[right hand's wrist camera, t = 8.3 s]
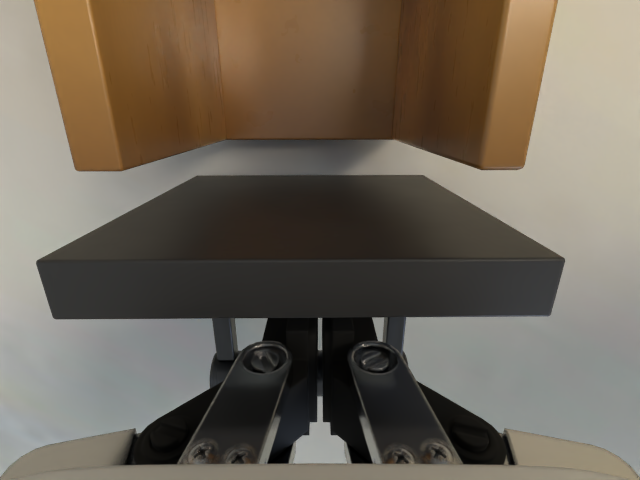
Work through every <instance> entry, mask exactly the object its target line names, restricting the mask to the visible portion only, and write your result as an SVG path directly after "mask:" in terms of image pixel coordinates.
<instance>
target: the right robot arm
mask: <svg viewBox="0 0 640 480" xmlns="http://www.w3.org/2000/svg"><path fill="white" fill-rule="evenodd" d="M317 365H318V318H268V320H267V324H266V328H265V332H264V336H263V340H262V341H261V342H256V343H254V344H251V345H249V346H247V347H246V348H245V349H243V350H242V351H241V352H240V354H239V355H238V357H237V358H236V360H235V362H234V364H233V365H232V367H231V369H230V371H229V372H228V374H227V376H226V378H225V380H224V381H222V382H221V383H219V384H217V385H215V386H214V387H212V388H210V389H209V390H207V391H205V392H203V393H202V394H200V395H198V396H196V397H195V398H193V399H191V400H190V401H188V402H186V403H184V404H183V405H181V406H179V407H177V408H176V409H174V410H172V411H171V412H169V413H167V414H165V415H164V416H162V417H160V418H158V419H157V420H155V421H154V422H153V423H151V424H150V425H148V426H147V427H146V428H145V430H144V431H143V432H142V433H138V434H137V433H136V429H135V428H134V429H129V430H124V431H119V432H113V433H108V434H103V435H98V436H92V437H87V438H82V439H76V440H71V441H66V442H61V443H55V444H50V445H46V446H43V447H40V448H37V449H34V450H33V451H31V452H29V453H27V454H25V455H23V456H22V457H20V458H19V459H18V460H17V461H15V462H14V463H13V464H12V465H10V466H9V467H8V469H7V470H6V471H5V472H4V473H3V475H2V476H1V477H0V480H640V477H639V476H638V475H637V473H636V472H635V471H634V470H633V469H632V467H631V466H630V465H628V464H627V463H626V462H625V461H623V460H622V459H621V458H620V457H618V456H617V455H615V454H613V453H611V452H609V451H607V450H605V449H603V448H600V447H597V446H594V445H590V444H585V443H579V442H574V441H569V440H564V439H558V438H553V437H548V436H542V435H537V434H532V433H527V432H521V431H516V430H511V429H506V428H505V429H504V433H503V434H502V433H498V432H497V431H496V430H495V428H494V427H493V426H492V425H490V424H489V423H487V422H486V421H485V420H483V419H482V418H480V417H478V416H476V415H475V414H473V413H471V412H469V411H468V410H466V409H464V408H463V407H461V406H459V405H457V404H456V403H454V402H452V401H450V400H449V399H447V398H445V397H444V396H442V395H440V394H438V393H437V392H435V391H433V390H431V389H430V388H428V387H426V386H425V385H423V384H421V383H419V382H418V381H416V380H415V378H414V376H413V374H412V372H411V371H410V369H409V367H408V365H407V364H406V362H405V360H404V358H403V357H402V355H401V354H400V352H399V351H398V350H397V349H395V348H394V347H393V346H391V345H389V344H386V343H384V342H379V341H378V340H377V336H376V332H375V328H374V324H373V320H372V317H343V318H322V365H323V422H330V426H331V435H338V436H339V437H340V438H341V439H343V440H344V451H345V457H346V461H347V464H293V461H294V457H295V451H296V440H297V439H299V438H300V437H301V436H302V435H309V426H310V422H317Z"/></svg>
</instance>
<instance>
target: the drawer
mask: <svg viewBox="0 0 640 480" xmlns="http://www.w3.org/2000/svg"><path fill="white" fill-rule="evenodd" d="M557 2H558V0H34V3H35V7H36V11H37V15H38V19H39V23H40V28H41V32H42V36H43V40H44V44H45V48H46V52H47V56H48V60H49V64H50V69H51V73H52V77H53V81H54V85H55V89H56V93H57V97H58V101H59V105H60V109H61V114H62V118H63V122H64V126H65V130H66V134H67V138H68V142H69V146H70V150H71V155H72V159H73V163H74V167H75V169H76V170H77V171H124V170H127V169H130V168H134V167H137V166H140V165H144V164H147V163H150V162H154V161H157V160H160V159H164V158H167V157H170V156H174V155H177V154H180V153H184V152H187V151H190V150H193V149H197V148H200V147H203V146H207V145H210V144H213V143H217V142H220V141H223V140H397V141H399V142H402V143H405V144H408V145H411V146H414V147H417V148H420V149H422V150H425V151H428V152H431V153H434V154H437V155H440V156H443V157H445V158H448V159H451V160H454V161H457V162H460V163H463V164H466V165H468V166H471V167H474V168H477V169H480V170H518V169H521V168H523V167H524V165H525V160H526V155H527V150H528V145H529V140H530V135H531V130H532V125H533V120H534V116H535V111H536V106H537V101H538V96H539V91H540V86H541V81H542V76H543V71H544V66H545V61H546V56H547V51H548V46H549V41H550V36H551V32H552V27H553V22H554V17H555V12H556V7H557ZM564 263H565V259H564V258H563V257H561V256H560V255H558V254H556V253H555V252H553V251H551V250H550V249H548V248H546V247H544V246H543V245H541V244H539V243H538V242H536V241H534V240H533V239H531V238H529V237H527V236H526V235H524V234H522V233H521V232H519V231H517V230H515V229H514V228H512V227H510V226H509V225H507V224H505V223H504V222H502V221H500V220H498V219H497V218H495V217H493V216H492V215H490V214H488V213H486V212H485V211H483V210H481V209H480V208H478V207H476V206H475V205H473V204H471V203H469V202H468V201H466V200H464V199H463V198H461V197H459V196H458V195H456V194H454V193H452V192H451V191H449V190H447V189H446V188H444V187H442V186H440V185H439V184H437V183H435V182H434V181H432V180H430V179H429V178H427V177H425V176H423V175H287V176H195V177H194V178H192V179H190V180H188V181H186V182H184V183H182V184H180V185H178V186H177V187H175V188H173V189H171V190H169V191H167V192H165V193H163V194H162V195H160V196H158V197H156V198H154V199H152V200H150V201H148V202H146V203H145V204H143V205H141V206H139V207H137V208H135V209H133V210H131V211H129V212H128V213H126V214H124V215H122V216H120V217H118V218H116V219H114V220H112V221H111V222H109V223H107V224H105V225H103V226H101V227H99V228H97V229H95V230H94V231H92V232H90V233H88V234H86V235H84V236H82V237H80V238H78V239H77V240H75V241H73V242H71V243H69V244H67V245H65V246H63V247H62V248H60V249H58V250H56V251H54V252H52V253H50V254H48V255H46V256H45V257H43V258H41V259H39V260H37V261H36V265H37V268H38V271H39V274H40V277H41V281H42V284H43V287H44V290H45V293H46V297H47V300H48V303H49V306H50V309H51V313H52V316H53V318H54V319H180V318H212V321H213V329H214V336H215V344H216V354H215V356H214V358H213V361H212V365H211V370H210V388H212V387H214V386H215V385H217V384H219V383H221V382H222V381H224V380H225V378H226V376H227V374H228V372H229V371H230V369H231V367H232V365H233V364H234V362H235V360H236V358H237V357H238V355H239V354H240V352H241V351H238V347H237V337H236V327H235V318H343V317H384V330H383V342H384V343H386V344H389V345H391V346H393V347H394V348H395V349H397V350H398V351H399V352H400V354H401V355H402V357H403V358H404V360H405V362H406V364H407V365H408V362H407V358H406V355H405V353H404V351H403V342H404V332H405V322H406V317H507V316H550V315H551V312H552V308H553V304H554V300H555V297H556V293H557V289H558V285H559V282H560V278H561V274H562V270H563V267H564ZM317 396H323V365H322V350H318V365H317Z"/></svg>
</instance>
